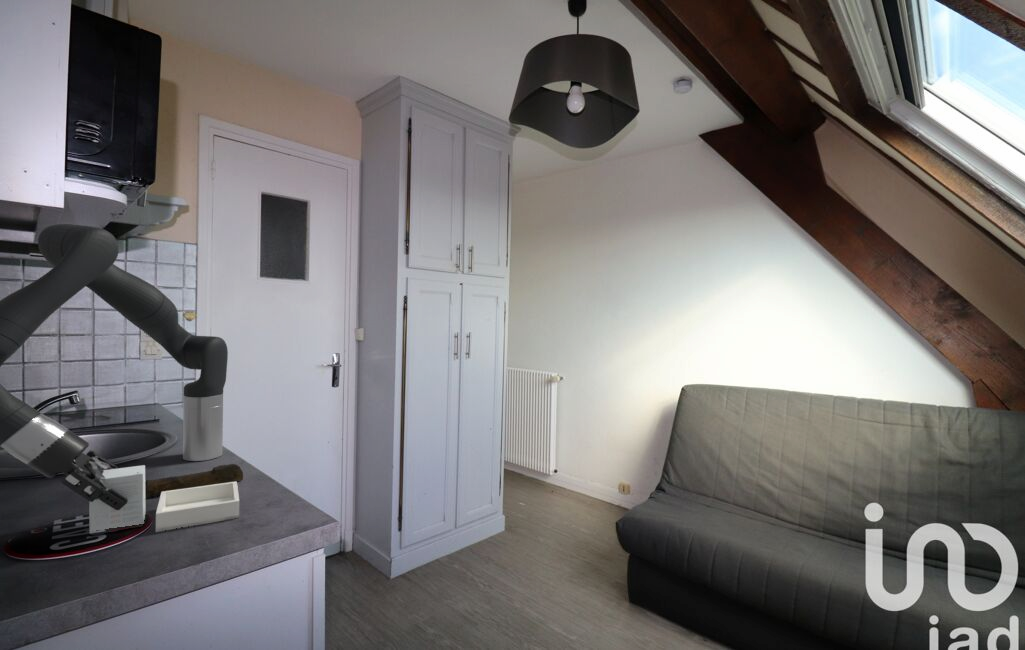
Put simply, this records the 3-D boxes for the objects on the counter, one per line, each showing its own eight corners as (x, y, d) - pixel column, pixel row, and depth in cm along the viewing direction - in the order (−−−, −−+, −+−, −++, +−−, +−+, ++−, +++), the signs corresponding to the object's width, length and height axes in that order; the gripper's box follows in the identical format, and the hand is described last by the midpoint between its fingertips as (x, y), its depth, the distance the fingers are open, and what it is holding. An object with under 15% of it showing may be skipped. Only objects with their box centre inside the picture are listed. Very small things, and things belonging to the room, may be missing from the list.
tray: (161, 508, 101) (161, 491, 101) (236, 496, 108) (236, 481, 108) (155, 532, 91) (155, 513, 91) (239, 517, 98) (239, 500, 98)
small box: (146, 516, 97) (146, 464, 97) (143, 527, 93) (144, 472, 92) (93, 525, 93) (93, 470, 93) (88, 537, 88) (88, 479, 88)
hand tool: (144, 501, 105) (144, 480, 105) (144, 495, 108) (145, 474, 108) (243, 485, 116) (244, 466, 116) (241, 480, 119) (242, 461, 119)
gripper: (55, 439, 82) (140, 494, 89) (75, 420, 94) (148, 470, 101) (11, 474, 80) (102, 529, 86) (38, 451, 92) (115, 500, 98)
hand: (127, 497), depth 93 cm, fingers open, 8 cm apart
